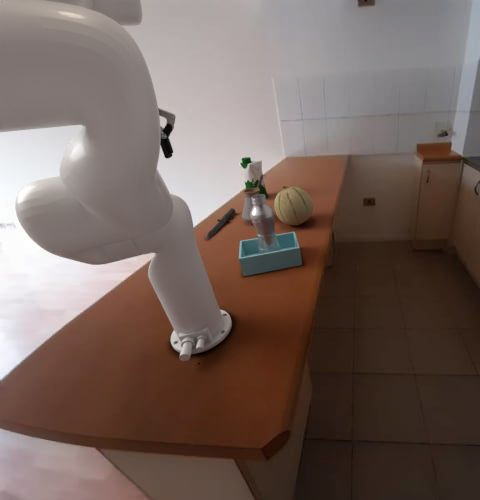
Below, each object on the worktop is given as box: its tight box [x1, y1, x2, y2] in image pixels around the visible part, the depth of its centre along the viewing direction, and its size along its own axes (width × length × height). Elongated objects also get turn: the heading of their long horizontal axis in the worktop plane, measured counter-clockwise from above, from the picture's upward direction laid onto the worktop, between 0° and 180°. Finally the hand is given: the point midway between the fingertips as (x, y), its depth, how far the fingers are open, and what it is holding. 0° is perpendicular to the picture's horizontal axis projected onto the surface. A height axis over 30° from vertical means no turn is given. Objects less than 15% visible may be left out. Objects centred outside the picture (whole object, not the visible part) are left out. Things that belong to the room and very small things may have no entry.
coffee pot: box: [241, 174, 267, 225], centre depth 115 cm, size 21×12×15 cm, turn 174°
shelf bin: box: [238, 231, 303, 277], centre depth 85 cm, size 11×17×6 cm, turn 104°
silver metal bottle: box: [250, 194, 281, 254], centre depth 81 cm, size 6×7×20 cm
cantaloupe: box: [273, 185, 314, 226], centre depth 106 cm, size 15×15×15 cm
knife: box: [206, 207, 236, 240], centre depth 112 cm, size 24×5×3 cm, turn 168°
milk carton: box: [238, 156, 268, 198], centre depth 134 cm, size 9×9×20 cm
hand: (145, 159), depth 61 cm, fingers open, 9 cm apart
